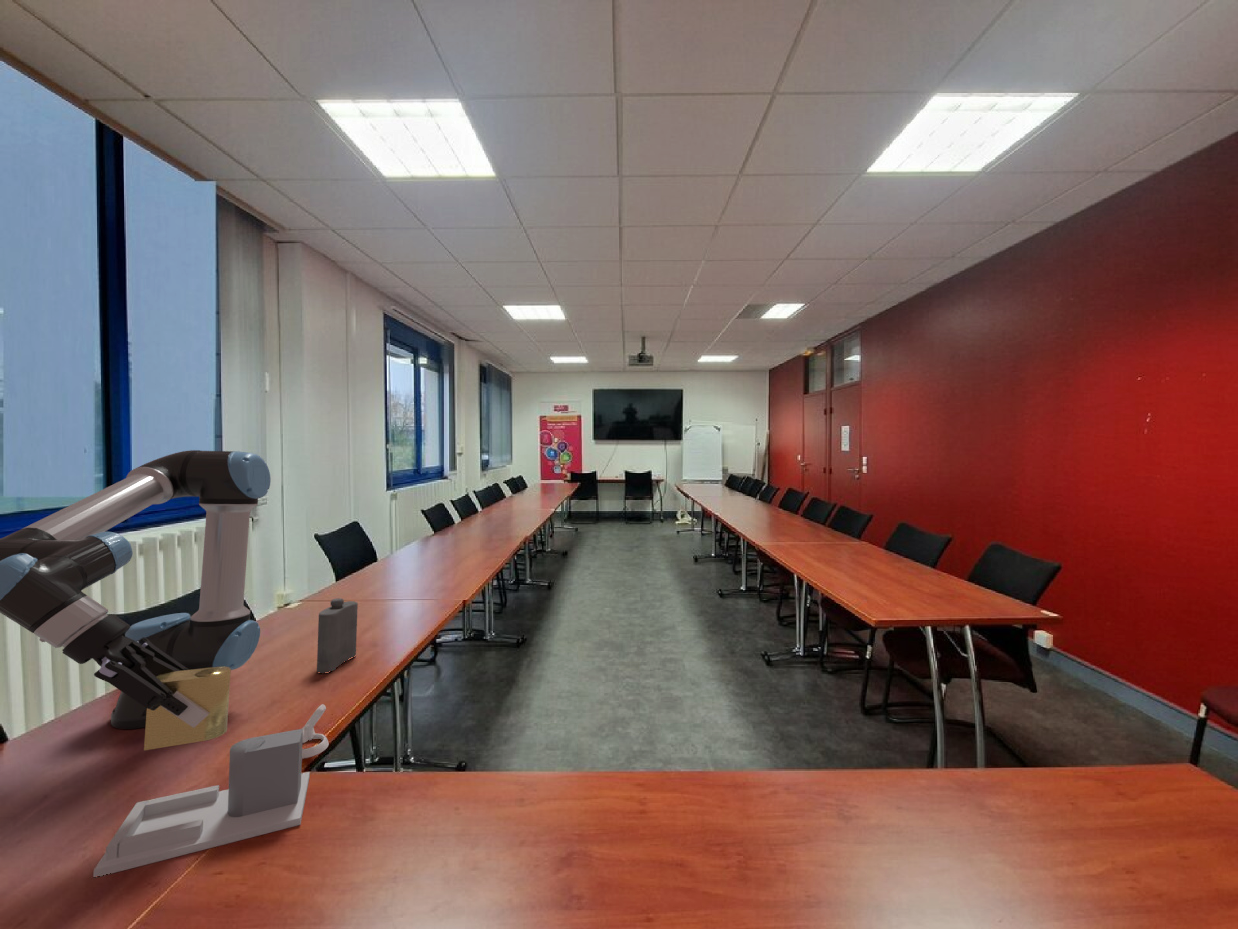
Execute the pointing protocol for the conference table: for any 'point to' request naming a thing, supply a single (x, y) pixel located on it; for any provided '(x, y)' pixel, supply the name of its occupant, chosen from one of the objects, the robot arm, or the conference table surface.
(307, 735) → the hook
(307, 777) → the hinge base
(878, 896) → the conference table surface
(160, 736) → the block
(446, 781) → the conference table surface
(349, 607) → the flask
